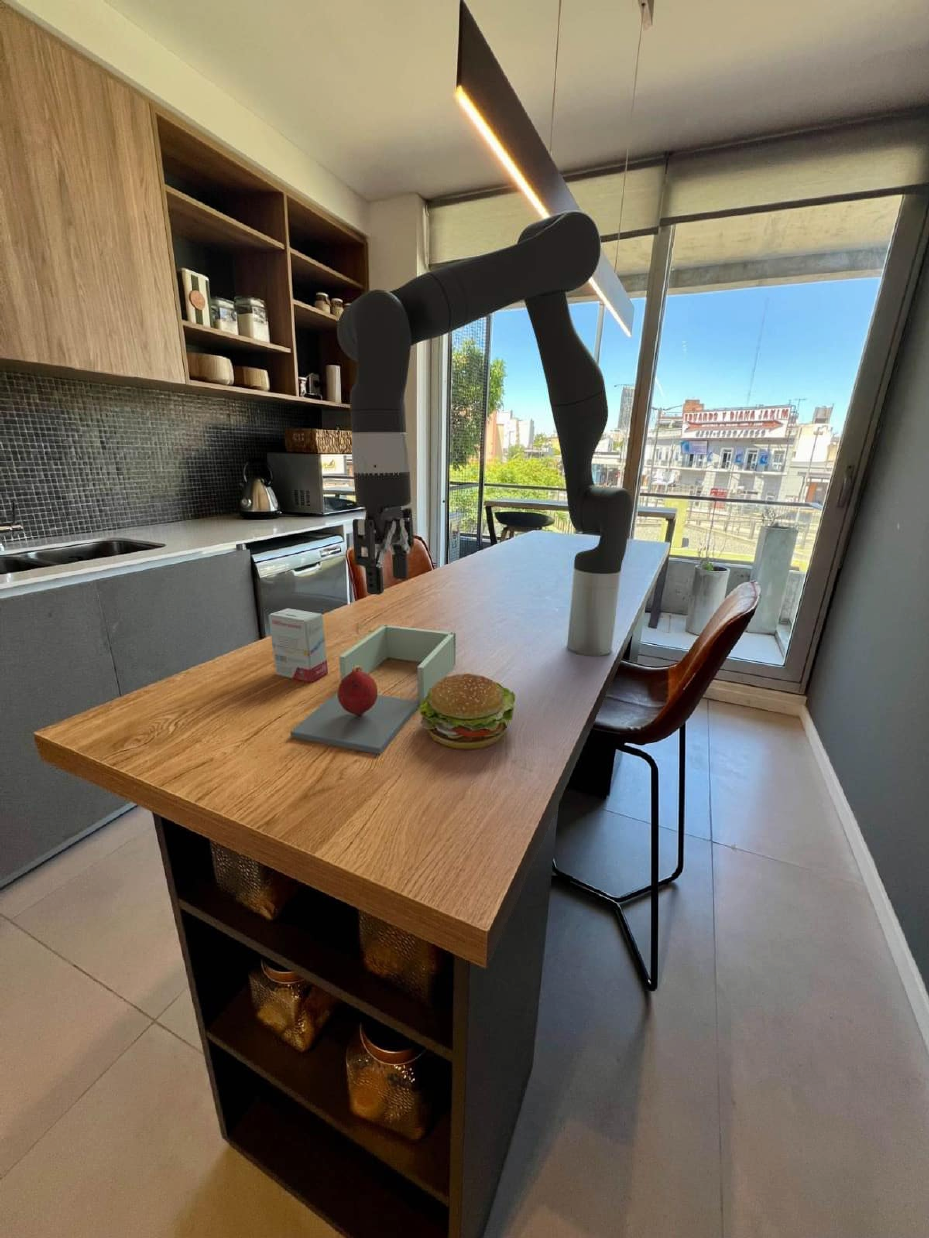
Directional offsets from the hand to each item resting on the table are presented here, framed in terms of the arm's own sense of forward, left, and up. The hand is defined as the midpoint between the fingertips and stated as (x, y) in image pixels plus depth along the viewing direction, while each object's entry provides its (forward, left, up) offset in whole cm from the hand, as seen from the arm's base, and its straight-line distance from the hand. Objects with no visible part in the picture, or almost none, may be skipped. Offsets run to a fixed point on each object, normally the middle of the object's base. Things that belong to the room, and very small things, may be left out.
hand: (389, 585), depth 71 cm
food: (+2, +13, -21) cm, 25 cm away
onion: (+4, -4, -20) cm, 21 cm away
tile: (+5, -4, -20) cm, 21 cm away
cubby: (-11, -4, -20) cm, 24 cm away
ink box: (-7, -22, -21) cm, 31 cm away
